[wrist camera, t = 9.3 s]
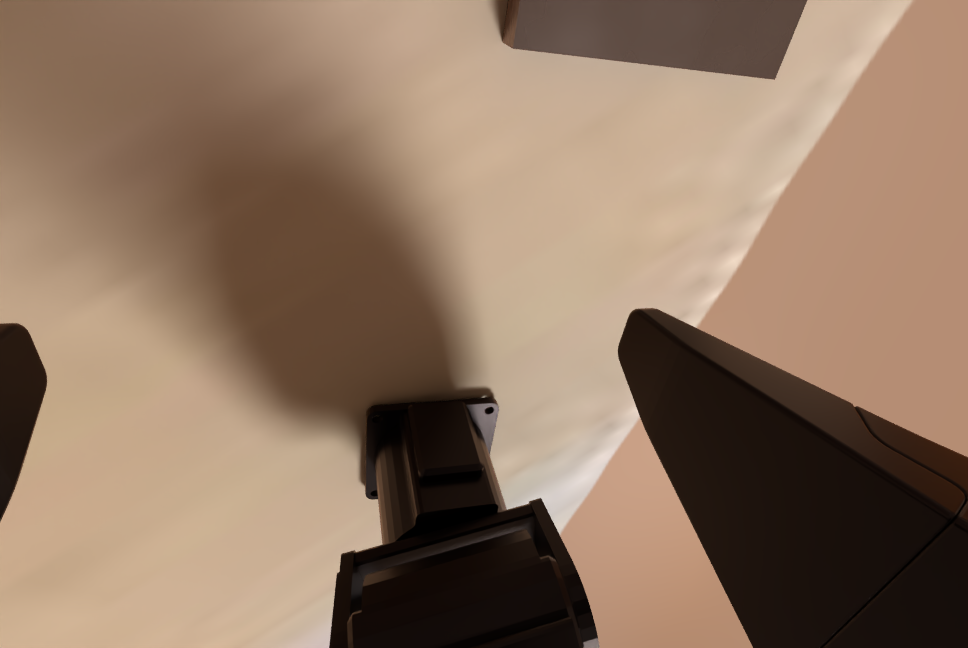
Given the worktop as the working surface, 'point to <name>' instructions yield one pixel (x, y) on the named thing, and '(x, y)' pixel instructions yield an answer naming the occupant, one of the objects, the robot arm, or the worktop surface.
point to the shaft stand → (660, 32)
